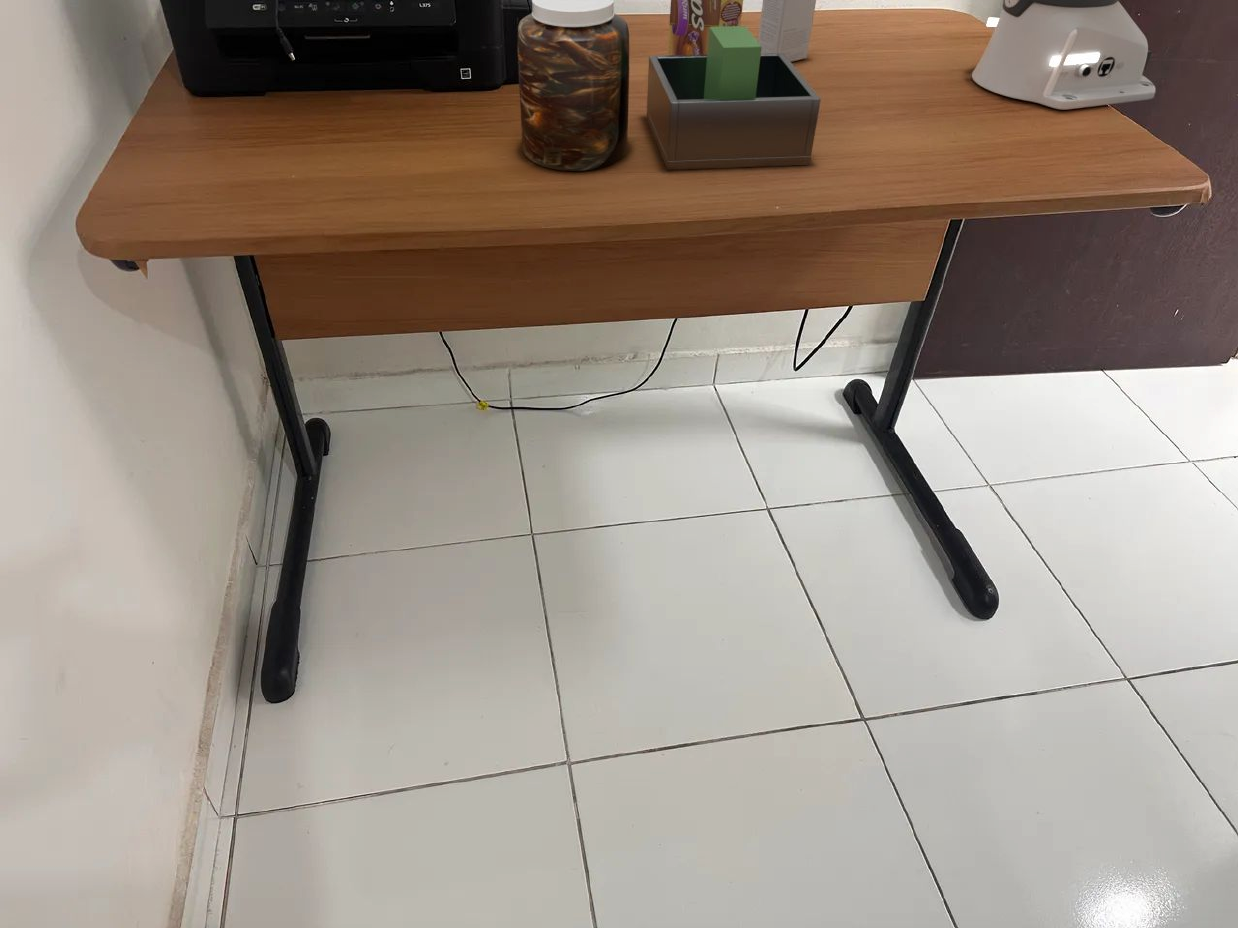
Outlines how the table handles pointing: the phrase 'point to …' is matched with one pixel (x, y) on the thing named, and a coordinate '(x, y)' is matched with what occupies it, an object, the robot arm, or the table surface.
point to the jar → (573, 84)
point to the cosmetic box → (786, 27)
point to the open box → (730, 116)
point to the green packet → (731, 63)
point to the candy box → (699, 23)
